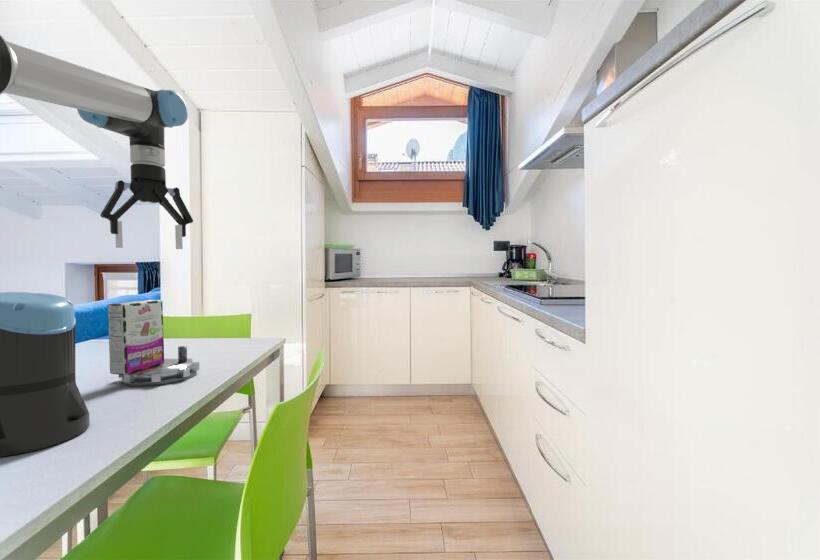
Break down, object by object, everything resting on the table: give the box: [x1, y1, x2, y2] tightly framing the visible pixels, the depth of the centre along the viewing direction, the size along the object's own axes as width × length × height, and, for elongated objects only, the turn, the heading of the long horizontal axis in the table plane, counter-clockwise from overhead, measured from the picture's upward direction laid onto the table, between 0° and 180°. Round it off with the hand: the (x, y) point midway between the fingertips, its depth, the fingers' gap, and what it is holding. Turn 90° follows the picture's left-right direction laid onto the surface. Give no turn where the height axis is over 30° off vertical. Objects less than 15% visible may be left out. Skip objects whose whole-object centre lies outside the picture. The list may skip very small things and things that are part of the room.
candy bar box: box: [107, 299, 165, 375], centre depth 96 cm, size 11×5×16 cm, turn 169°
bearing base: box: [121, 370, 198, 387], centre depth 101 cm, size 16×16×1 cm
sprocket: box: [118, 345, 200, 383], centre depth 101 cm, size 17×17×6 cm
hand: (150, 248), depth 104 cm, fingers open, 13 cm apart
